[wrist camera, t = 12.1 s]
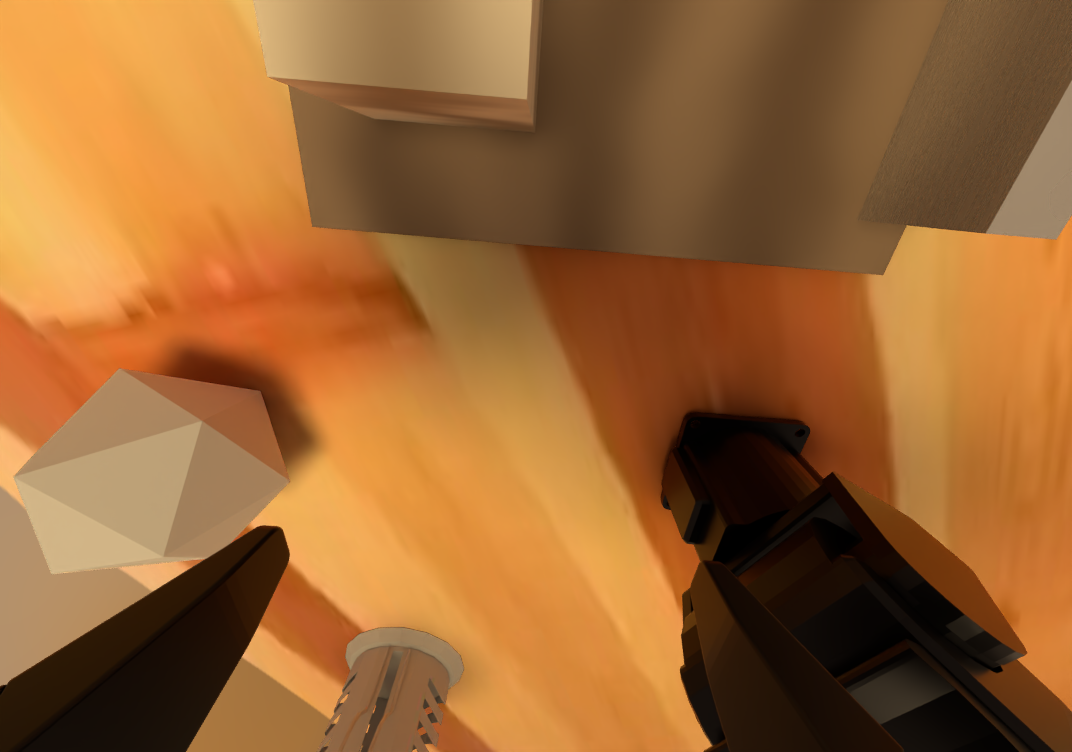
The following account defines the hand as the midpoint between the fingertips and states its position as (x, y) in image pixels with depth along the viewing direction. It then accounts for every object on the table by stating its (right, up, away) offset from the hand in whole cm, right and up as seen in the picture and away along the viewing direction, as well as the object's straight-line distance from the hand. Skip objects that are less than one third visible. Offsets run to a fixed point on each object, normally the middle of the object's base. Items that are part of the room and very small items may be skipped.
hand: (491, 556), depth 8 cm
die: (-16, +1, +14) cm, 21 cm away
